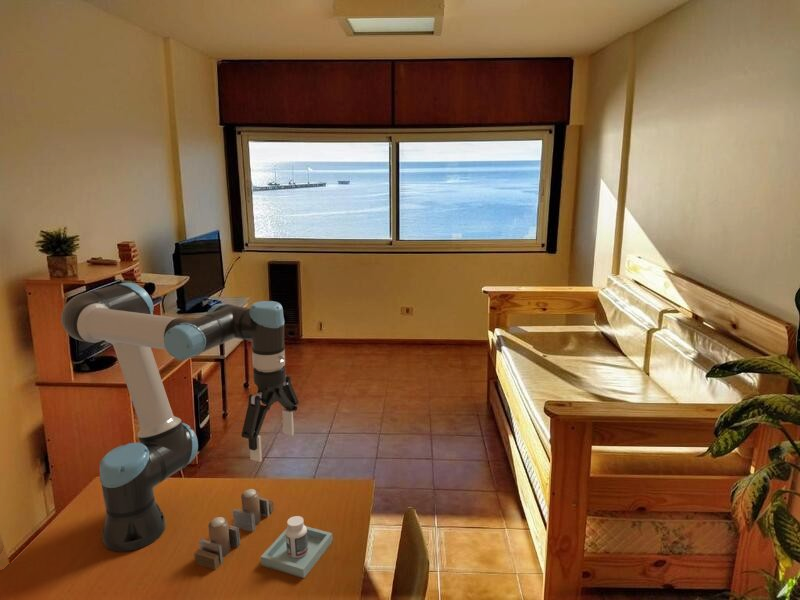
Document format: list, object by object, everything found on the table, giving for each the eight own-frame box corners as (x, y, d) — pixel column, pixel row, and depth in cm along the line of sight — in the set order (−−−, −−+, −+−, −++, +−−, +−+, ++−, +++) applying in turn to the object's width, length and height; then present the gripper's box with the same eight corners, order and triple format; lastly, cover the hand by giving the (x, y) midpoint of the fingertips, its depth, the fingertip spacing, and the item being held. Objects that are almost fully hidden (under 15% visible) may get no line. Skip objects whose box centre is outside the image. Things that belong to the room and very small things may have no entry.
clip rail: (195, 563, 141) (193, 546, 140) (256, 506, 163) (254, 490, 162) (215, 569, 139) (213, 552, 138) (273, 510, 161) (272, 495, 160)
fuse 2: (239, 523, 156) (237, 495, 153) (250, 514, 160) (247, 486, 158) (254, 527, 154) (251, 499, 152) (264, 517, 158) (261, 489, 156)
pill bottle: (311, 546, 146) (309, 515, 144) (303, 560, 141) (301, 528, 139) (291, 543, 147) (289, 513, 145) (283, 557, 142) (281, 526, 140)
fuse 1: (207, 554, 144) (204, 524, 142) (219, 543, 148) (216, 513, 146) (222, 559, 142) (219, 528, 140) (234, 547, 147) (231, 517, 144)
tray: (261, 565, 140) (260, 556, 140) (292, 530, 153) (292, 522, 152) (304, 578, 136) (303, 569, 135) (332, 541, 148) (332, 533, 148)
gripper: (249, 389, 124) (254, 476, 130) (310, 351, 146) (312, 427, 152) (221, 383, 127) (227, 468, 133) (285, 347, 149) (288, 421, 155)
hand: (273, 446), depth 142 cm, fingers open, 13 cm apart
